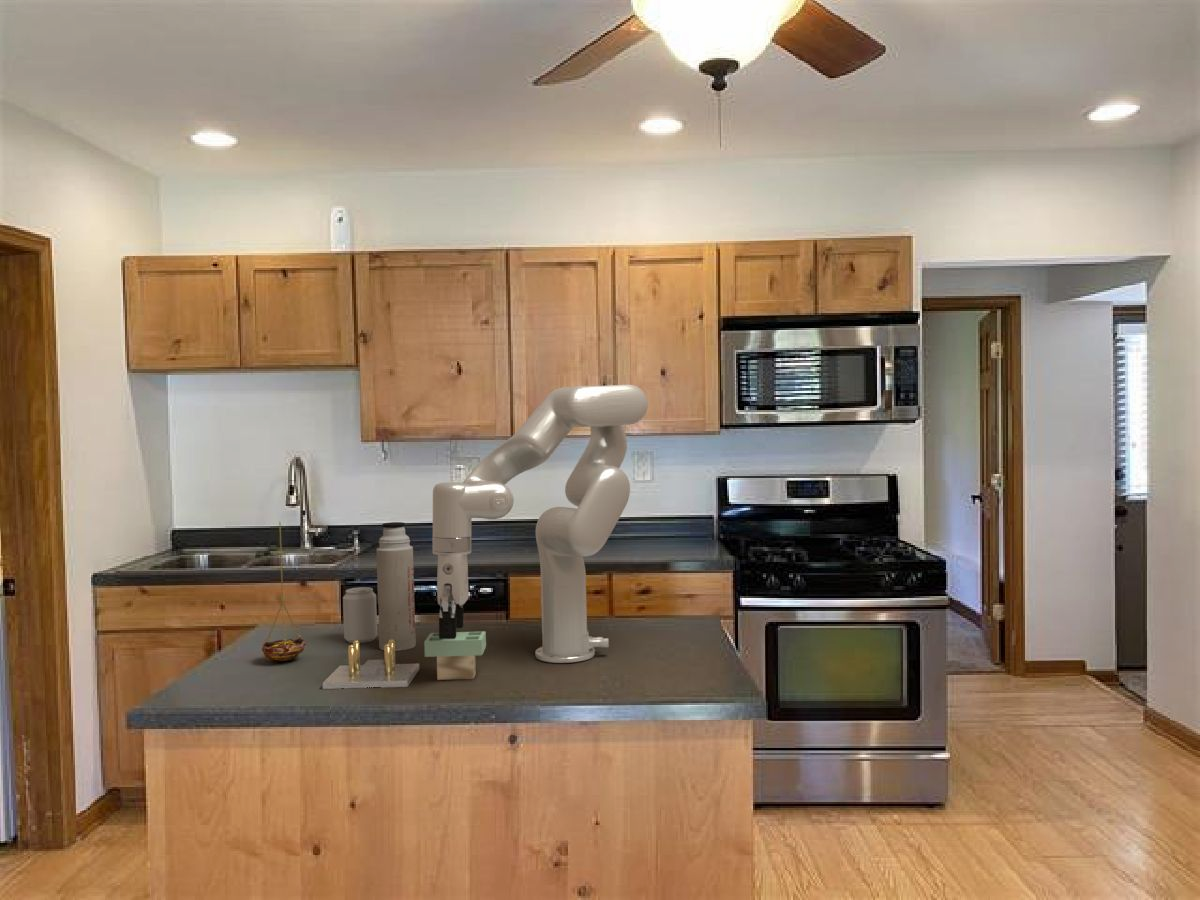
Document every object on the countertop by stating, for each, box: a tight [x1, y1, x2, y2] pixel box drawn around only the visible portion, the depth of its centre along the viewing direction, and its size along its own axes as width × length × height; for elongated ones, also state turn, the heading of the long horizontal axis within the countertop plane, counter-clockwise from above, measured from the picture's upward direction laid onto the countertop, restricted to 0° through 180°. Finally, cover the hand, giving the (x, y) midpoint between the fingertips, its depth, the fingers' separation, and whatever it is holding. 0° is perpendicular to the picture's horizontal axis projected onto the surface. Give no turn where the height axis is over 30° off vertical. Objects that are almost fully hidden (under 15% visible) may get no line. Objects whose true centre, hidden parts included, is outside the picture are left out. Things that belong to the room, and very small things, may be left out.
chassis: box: [322, 639, 420, 690], centre depth 175 cm, size 16×12×7 cm
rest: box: [436, 656, 477, 681], centre depth 175 cm, size 7×4×5 cm, turn 91°
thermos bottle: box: [376, 521, 416, 652], centre depth 200 cm, size 8×8×28 cm
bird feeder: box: [261, 521, 307, 663], centre depth 190 cm, size 9×9×30 cm
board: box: [423, 630, 487, 658], centre depth 175 cm, size 11×7×3 cm, turn 91°
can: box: [342, 586, 378, 644], centre depth 207 cm, size 8×8×12 cm
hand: (451, 632), depth 175 cm, fingers open, 9 cm apart
